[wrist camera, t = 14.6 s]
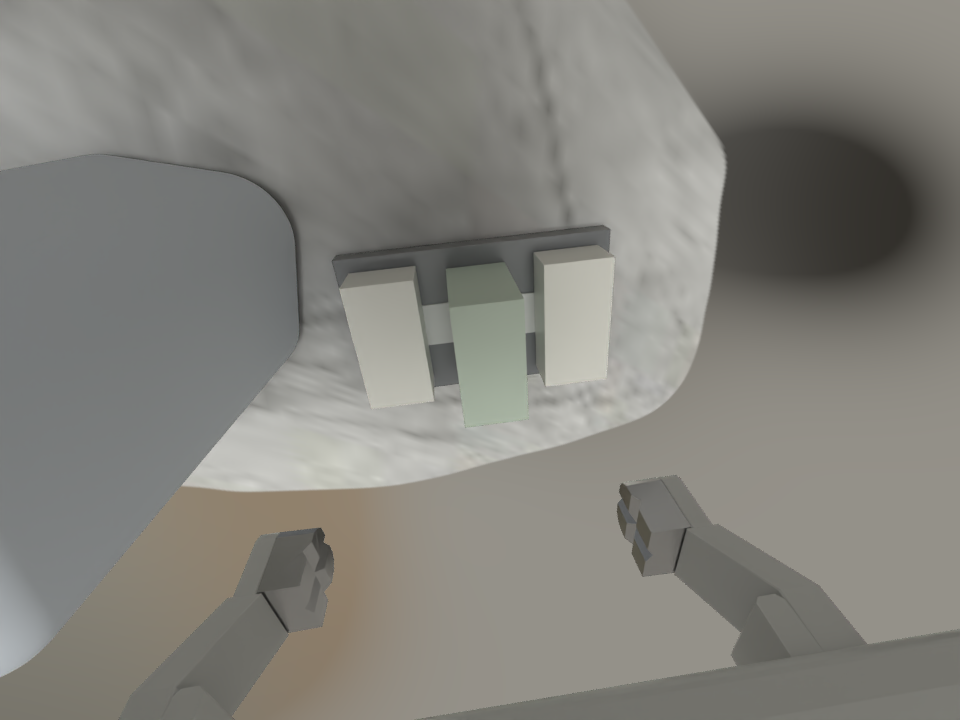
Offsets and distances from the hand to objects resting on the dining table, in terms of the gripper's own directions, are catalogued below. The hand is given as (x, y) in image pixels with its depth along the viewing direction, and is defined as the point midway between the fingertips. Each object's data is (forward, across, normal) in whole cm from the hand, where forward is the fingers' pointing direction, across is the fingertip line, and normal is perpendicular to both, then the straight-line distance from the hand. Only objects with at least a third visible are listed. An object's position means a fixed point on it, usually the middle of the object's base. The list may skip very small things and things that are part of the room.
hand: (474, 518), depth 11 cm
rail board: (+25, -2, +5) cm, 25 cm away
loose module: (+23, -2, +5) cm, 24 cm away
